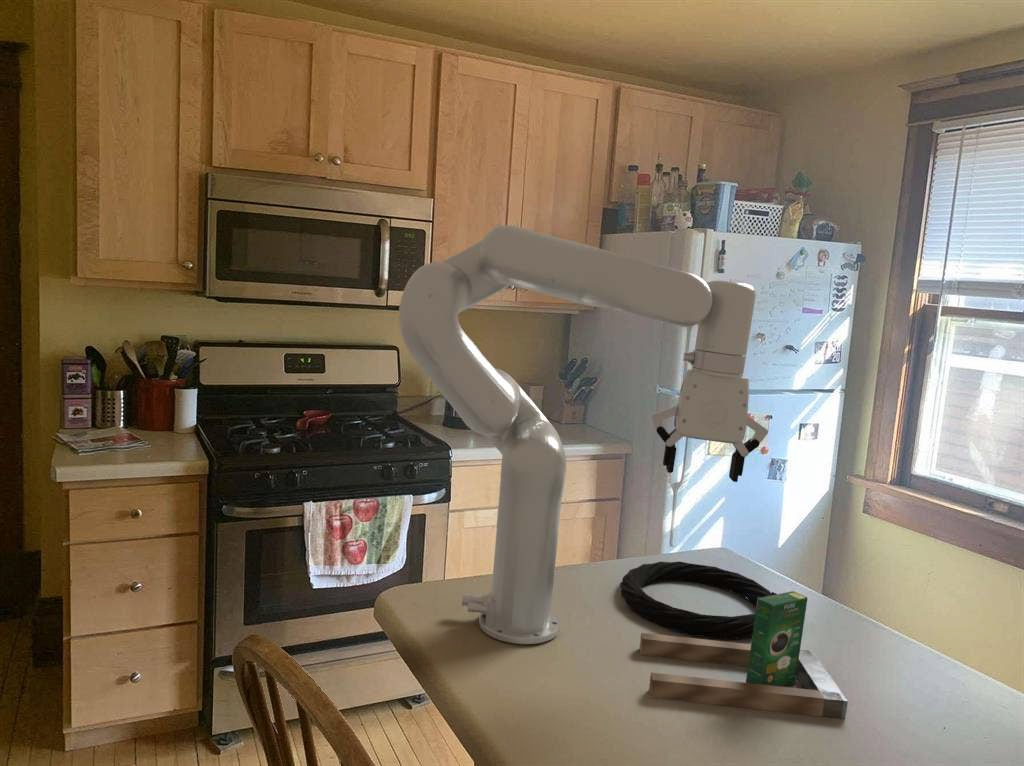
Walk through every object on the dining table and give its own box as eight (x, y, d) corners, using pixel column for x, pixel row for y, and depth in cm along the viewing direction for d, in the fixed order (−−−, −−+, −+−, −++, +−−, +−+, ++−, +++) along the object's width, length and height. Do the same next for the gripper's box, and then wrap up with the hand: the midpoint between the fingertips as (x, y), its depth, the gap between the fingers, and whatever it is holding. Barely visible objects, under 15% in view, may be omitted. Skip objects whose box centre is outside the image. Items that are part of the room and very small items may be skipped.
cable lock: (625, 549, 149) (784, 572, 144) (623, 568, 150) (782, 592, 144) (616, 604, 122) (812, 635, 117) (613, 627, 123) (808, 659, 117)
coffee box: (780, 674, 111) (792, 588, 109) (797, 683, 109) (809, 596, 107) (743, 686, 107) (755, 597, 105) (760, 696, 104) (772, 605, 103)
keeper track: (650, 697, 101) (652, 679, 101) (639, 648, 115) (641, 632, 115) (845, 718, 100) (847, 701, 100) (810, 666, 114) (812, 650, 114)
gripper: (662, 359, 111) (646, 473, 113) (783, 374, 110) (764, 489, 112) (657, 355, 118) (642, 462, 121) (770, 369, 117) (753, 477, 119)
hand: (701, 475), depth 116 cm, fingers open, 9 cm apart
